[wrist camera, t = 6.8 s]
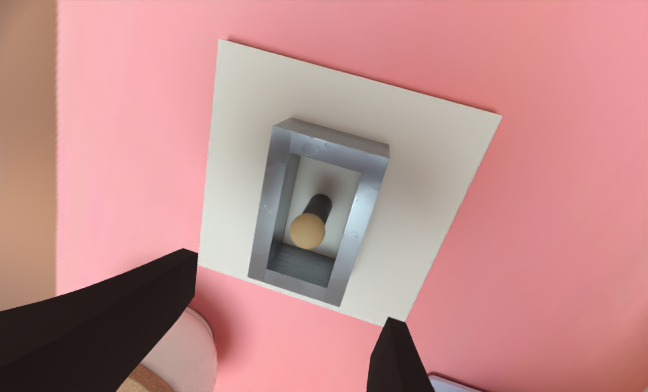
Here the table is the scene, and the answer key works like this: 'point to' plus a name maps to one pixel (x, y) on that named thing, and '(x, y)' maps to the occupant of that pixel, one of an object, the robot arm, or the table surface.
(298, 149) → the grey rectangular frame
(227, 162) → the keeper board
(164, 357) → the lidded jar
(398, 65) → the table surface
